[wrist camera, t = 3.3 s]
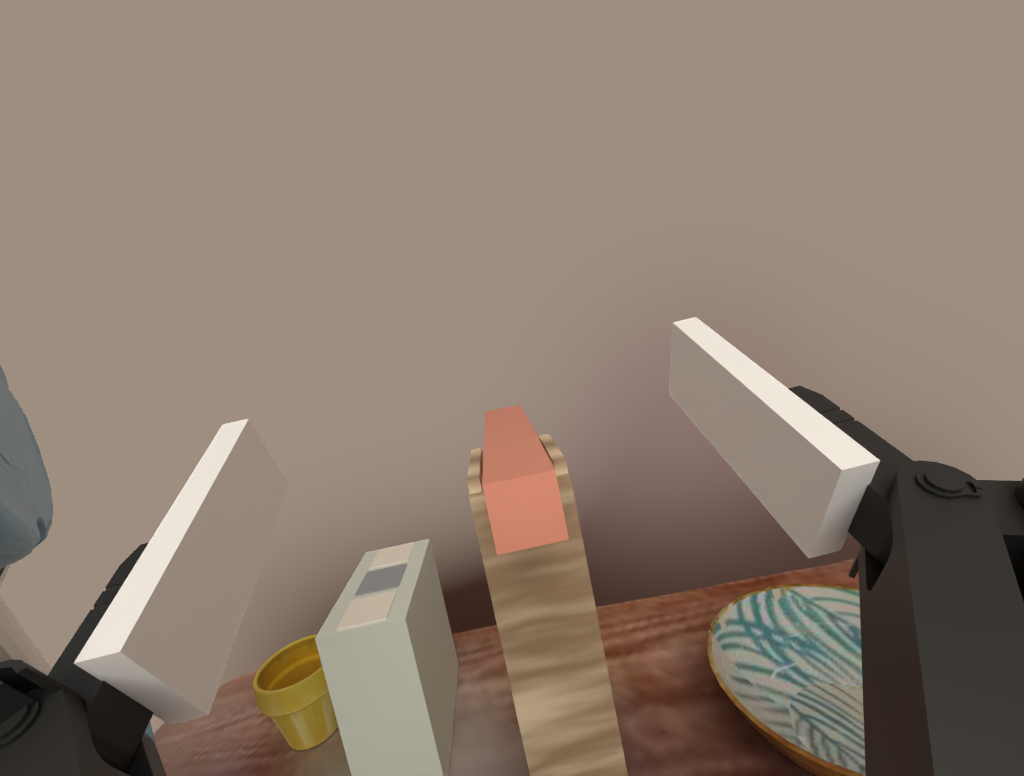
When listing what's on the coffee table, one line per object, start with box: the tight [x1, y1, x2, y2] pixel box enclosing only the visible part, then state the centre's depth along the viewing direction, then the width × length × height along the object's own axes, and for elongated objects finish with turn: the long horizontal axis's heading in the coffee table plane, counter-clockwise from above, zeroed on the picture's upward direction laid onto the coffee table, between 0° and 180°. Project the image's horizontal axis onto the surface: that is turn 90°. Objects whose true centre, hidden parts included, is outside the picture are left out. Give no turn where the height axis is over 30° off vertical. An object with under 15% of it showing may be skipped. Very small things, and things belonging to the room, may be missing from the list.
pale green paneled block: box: [315, 539, 459, 776], centre depth 53 cm, size 18×9×20 cm, turn 3°
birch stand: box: [467, 434, 628, 776], centre depth 42 cm, size 15×9×34 cm, turn 3°
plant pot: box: [253, 634, 338, 750], centre depth 57 cm, size 10×10×10 cm
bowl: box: [706, 583, 866, 776], centre depth 43 cm, size 25×25×8 cm
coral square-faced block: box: [482, 405, 569, 555], centre depth 36 cm, size 26×4×4 cm, turn 3°
